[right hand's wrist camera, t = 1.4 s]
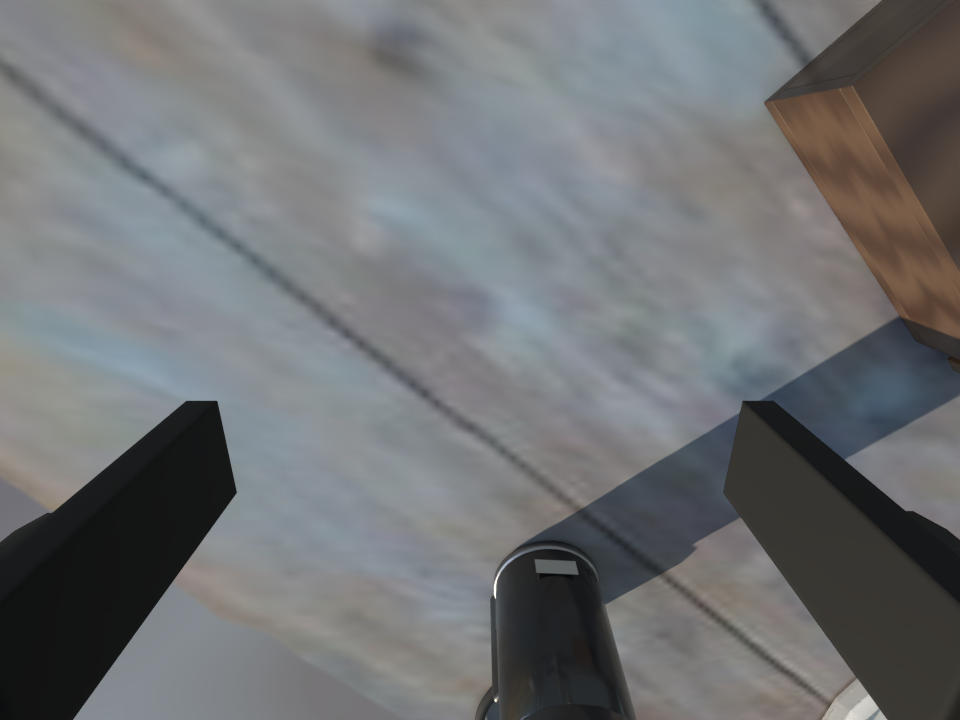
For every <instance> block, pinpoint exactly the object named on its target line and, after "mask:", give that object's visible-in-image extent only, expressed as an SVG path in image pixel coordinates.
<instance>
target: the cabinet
mask: <svg viewBox="0 0 960 720" xmlns="http://www.w3.org/2000/svg"><path fill="white" fill-rule="evenodd" d="M764 104H765V105H766V107H767V108H768V110H769V111H770V113H771V115H772V116H773V118H774V119H775V121H776V122H777V124H778V126H779V127H780V129H781V130H782V132H783V133H784V135H785V136H786V138H787V140H788V141H789V143H790V144H791V146H792V147H793V149H794V151H795V152H796V154H797V155H798V157H799V158H800V160H801V162H802V163H803V165H804V166H805V168H806V169H807V171H808V173H809V174H810V176H811V177H812V179H813V180H814V182H815V183H816V185H817V187H818V188H819V190H820V191H821V193H822V194H823V196H824V198H825V199H826V201H827V202H828V204H829V205H830V207H831V209H832V210H833V212H834V213H835V215H836V216H837V218H838V220H839V221H840V223H841V224H842V226H843V227H844V229H845V230H846V232H847V234H848V235H849V237H850V238H851V240H852V241H853V243H854V245H855V246H856V248H857V249H858V251H859V252H860V254H861V256H862V257H863V259H864V260H865V262H866V263H867V265H868V267H869V268H870V270H871V271H872V273H873V274H874V276H875V277H876V279H877V281H878V282H879V284H880V285H881V287H882V288H883V290H884V292H885V293H886V295H887V296H888V298H889V299H890V301H891V303H892V304H893V306H894V307H895V309H896V310H897V312H898V314H899V315H900V317H901V318H902V320H903V321H904V323H905V324H906V326H907V328H908V329H909V331H910V332H911V334H912V335H913V337H914V339H915V340H916V342H919V343H921V344H923V345H926V346H928V347H931V348H933V349H935V350H938V351H940V352H942V353H945V354H947V355H949V356H952V357H954V358H956V359H959V360H960V0H882V1H881V2H880V3H879V4H877V5H876V6H875V7H874V8H873V9H872V10H871V11H869V12H868V13H867V14H866V15H865V16H864V17H862V18H861V19H860V20H859V21H858V22H857V23H855V24H854V25H853V26H852V27H851V28H850V29H848V30H847V31H846V32H845V33H844V34H843V35H842V36H840V37H839V38H838V39H837V40H836V41H835V42H833V43H832V44H831V45H830V46H829V47H828V48H826V49H825V50H824V51H823V52H822V53H821V54H820V55H818V56H817V57H816V58H815V59H814V60H813V61H811V62H810V63H809V64H808V65H807V66H806V67H804V68H803V69H802V70H801V71H800V72H799V73H798V74H796V75H795V76H794V77H793V78H792V79H791V80H789V81H788V82H787V83H786V84H785V85H784V86H782V87H781V88H780V89H779V90H778V91H777V92H775V93H774V94H773V95H772V96H771V97H770V98H769V99H767V100H766V101H765V102H764Z"/></svg>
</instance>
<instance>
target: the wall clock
mask: <svg viewBox="0 0 960 720" xmlns="http://www.w3.org/2000/svg"><path fill="white" fill-rule="evenodd" d="M822 720H887V719H886V717H885V716H884V715H883V713H882V712H881V711H880V709H879V708H878V706H877V705H876V704H875V702H874V701H873V699H872V698H871V697H870V695H869V694H868V693H867V691H866V690H865V688H864V687H863V686H862V684H861V683H860V681H859V680H858V679H856V680H855V681H854V682H853V683H851V684H850V685H849V686H848V687H847V688H846V689H845V690H844V691H843V692H842V693H841V694H840V695H839V696H837V697H836V698H835V700H834V702H833V703H832V705H831V706H830V708H829V709H828V711H827V712H826V714H825V715H824V717H823V718H822Z"/></svg>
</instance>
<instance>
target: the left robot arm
mask: <svg viewBox="0 0 960 720" xmlns="http://www.w3.org/2000/svg"><path fill="white" fill-rule="evenodd" d="M490 609H491V653H492V687H491V688H490V689H489V690H488V692H487V693H486V694H485V696H484V697H483V699H482V700H481V702H480V704H479V706H478V709H477V712H476V717H475V720H485V716H486V713H487V711H488V709H489V707H490V706H491V704H492V703H493V701H495V702H496V703H497V704H498V705H499V717H500V720H637V719H636V715H635V712H634V708H633V704H632V701H631V697H630V694H629V690H628V686H627V683H626V679H625V676H624V672H623V668H622V665H621V661H620V658H619V654H618V650H617V647H616V643H615V640H614V636H613V632H612V629H611V625H610V622H609V618H608V614H607V611H606V607H605V604H604V600H603V596H602V593H601V589H600V583H599V577H598V574H597V571H596V568H595V566H594V564H593V562H592V561H591V560H590V558H589V557H588V556H587V555H586V554H584V553H583V552H582V551H580V550H579V549H577V548H575V547H573V546H570V545H567V544H563V543H558V542H539V543H534V544H530V545H526V546H524V547H521V548H519V549H517V550H516V551H514V552H512V553H511V554H510V555H508V556H507V557H506V558H505V559H504V560H503V561H502V563H501V564H500V565H499V567H498V569H497V571H496V574H495V578H494V595H493V596H492V598H491V599H490Z"/></svg>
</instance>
